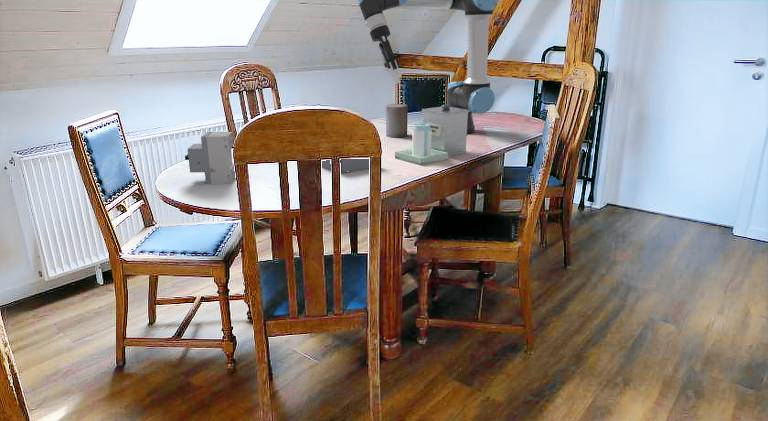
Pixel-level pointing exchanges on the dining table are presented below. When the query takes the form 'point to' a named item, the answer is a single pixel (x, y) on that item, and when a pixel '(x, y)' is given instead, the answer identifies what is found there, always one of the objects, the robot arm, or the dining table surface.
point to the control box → (447, 128)
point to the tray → (408, 157)
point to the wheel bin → (348, 164)
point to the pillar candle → (396, 120)
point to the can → (421, 140)
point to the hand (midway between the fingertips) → (397, 80)
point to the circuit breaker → (213, 157)
